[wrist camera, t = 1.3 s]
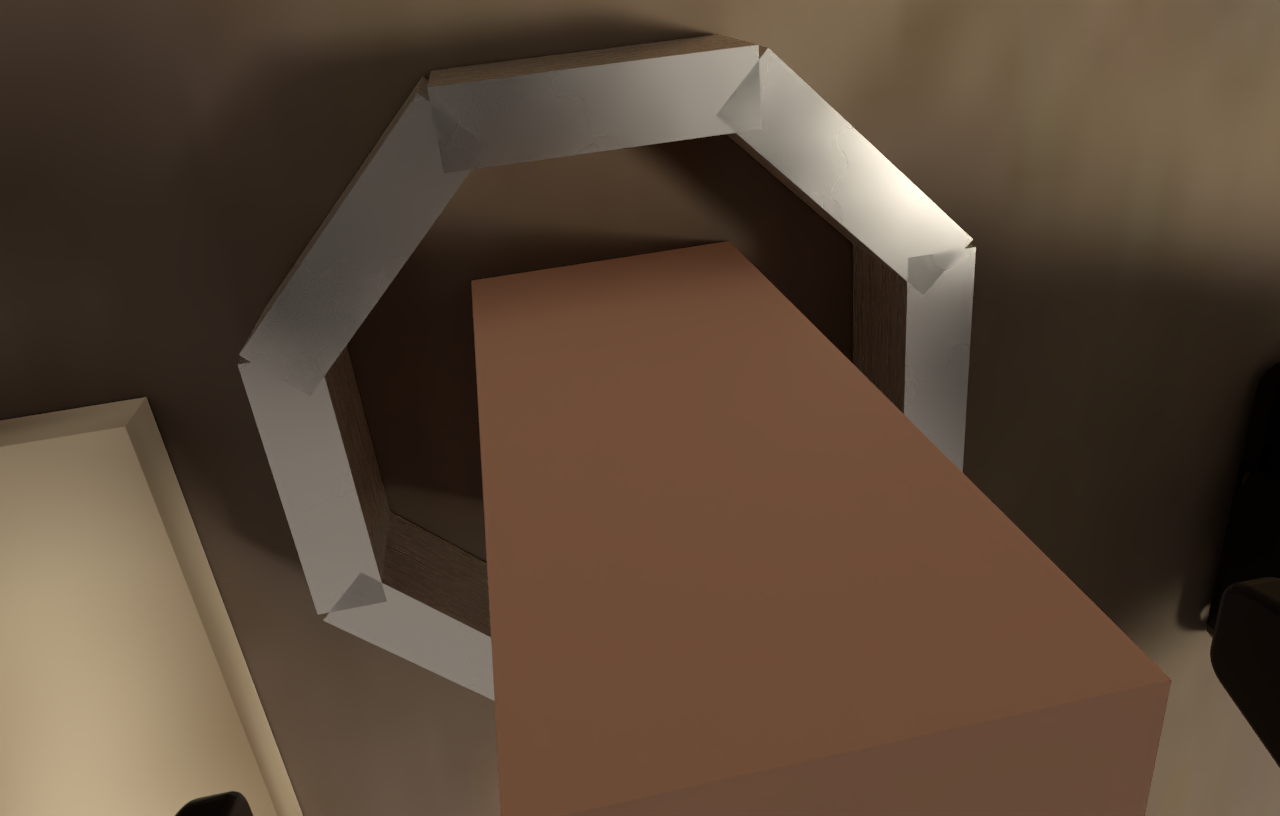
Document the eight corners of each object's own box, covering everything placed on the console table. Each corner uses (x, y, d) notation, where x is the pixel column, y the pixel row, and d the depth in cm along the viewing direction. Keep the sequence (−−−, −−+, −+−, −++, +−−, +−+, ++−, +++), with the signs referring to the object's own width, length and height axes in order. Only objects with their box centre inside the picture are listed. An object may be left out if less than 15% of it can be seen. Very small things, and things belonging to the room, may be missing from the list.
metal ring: (918, 9, 13) (990, 14, 12) (903, 573, 18) (952, 639, 16) (203, 99, 12) (158, 121, 10) (374, 678, 17) (365, 762, 15)
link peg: (729, 240, 14) (1171, 680, 6) (742, 464, 16) (1094, 1067, 7) (471, 279, 14) (502, 827, 5) (513, 506, 16) (592, 1205, 7)
